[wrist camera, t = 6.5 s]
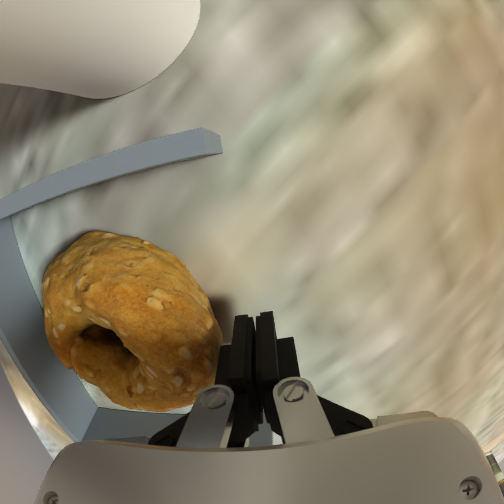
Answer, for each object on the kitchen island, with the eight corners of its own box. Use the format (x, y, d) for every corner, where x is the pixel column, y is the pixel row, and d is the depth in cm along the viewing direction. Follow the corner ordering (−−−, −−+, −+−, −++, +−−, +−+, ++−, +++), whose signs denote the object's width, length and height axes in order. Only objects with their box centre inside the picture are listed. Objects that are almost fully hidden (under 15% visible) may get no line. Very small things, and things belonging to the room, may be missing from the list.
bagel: (66, 194, 12) (4, 216, 8) (258, 273, 14) (259, 332, 9) (55, 331, 16) (19, 373, 11) (198, 396, 17) (186, 454, 12)
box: (1, 207, 12) (-43, 224, 9) (219, 135, 11) (201, 127, 8) (95, 412, 18) (78, 446, 14) (272, 417, 17) (274, 464, 13)
